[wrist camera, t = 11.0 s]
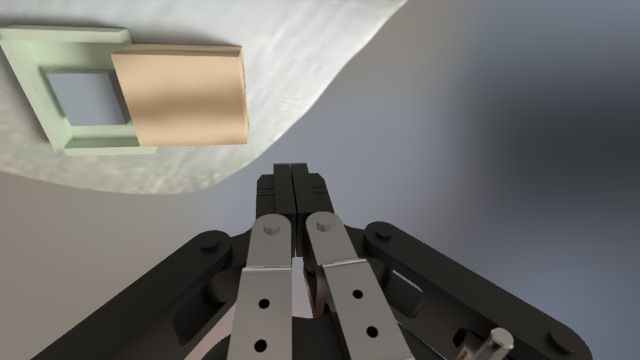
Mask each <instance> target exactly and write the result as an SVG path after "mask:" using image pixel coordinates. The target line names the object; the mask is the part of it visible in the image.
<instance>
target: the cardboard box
mask: <svg viewBox="0 0 640 360" xmlns="http://www.w3.org/2000/svg"><path fill="white" fill-rule="evenodd" d="M110 55H111V58H112V61H113V64H114V67H115V70H116V73H117V77H118V80H119V83H120V86H121V89H122V92H123V95H124V98H125V101H126V104H127V107H128V110H129V113H130V116H131V120H132V123H133V126H134V129H135V132H136V135H137V138H138V141H139V144H140V147H152V146H192V145H231V144H247V139H248V129H249V120H248V109H247V97H246V86H245V75H244V64H243V52H242V46H209V45H172V44H136V43H133V44H131V45H129V46H126V47H124V48H122V49H120V50H118V51H116V52H114V53H112V54H110Z"/></svg>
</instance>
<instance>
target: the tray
mask: <svg viewBox="0 0 640 360" xmlns="http://www.w3.org/2000/svg"><path fill="white" fill-rule="evenodd" d="M131 44H133V42H132V38H131V35H130V31H129V29H126V28H98V27H70V26H41V25H8V26H2V27H0V45H1V47H2V49H3V51H4V53H5V55H6V57H7V59H8V61H9V63H10V65H11V67H12V69H13V71H14V73H15V75H16V77H17V79H18V80H19V82H20V84H21V86H22V88H23V90H24V92H25V94H26V96H27V98H28V100H29V102H30V104H31V106H32V108H33V110H34V112H35V114H36V116H37V117H38V119H39V121H40V123H41V125H42V127H43V129H44V131H45V133H46V135H47V137H48V139H49V141H50V143H51V145H52V147H53V149H54V151H55V152H56V154H57V156H79V155H113V154H148V153H155V151H156V149H157V148H158V146H152V147H140V144H139V141H138V138H137V135H136V132H135V129H134V126H133V123H132V120H130V121H129V122H128V123H127V124H126V125H98V126H71V125H70V123H69V121H68V119H67V117H66V115H65V112H64V110H63V108H62V106H61V104H60V102H59V100H58V98H57V96H56V94H55V91H54V89H53V87H52V85H51V83H50V81H49V79H48V77H47V75H46V74H47V73H50V72H52V71H54V70H57V69H115V67H114V64H113V61H112V58H111V55H110V54H112V53H114V52H116V51H118V50H120V49H122V48H124V47H126V46H129V45H131Z"/></svg>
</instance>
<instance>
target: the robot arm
mask: <svg viewBox="0 0 640 360" xmlns="http://www.w3.org/2000/svg"><path fill="white" fill-rule="evenodd" d="M273 169H274V170H273V171H274V174H273V175H272V174H269V175H261V177H260V178H259V180H258V181H257V197H256V221H255V222H254V223H253V226H252V228H251V229H249V230H248V231H246V232H245V233H243V234H240V235H237V236H234V237H230V236H229V235H228V234H227V233H225V232H222V231H218V230H211V231H206V232H203V233H200V234H198V235H197V236H195V237H194V238H192V239H191V240H190V241H188V242H187V243H186V244H184V245H183V246H182V247H180V248H179V249H178V250H176V251H175V252H174V253H172V254H171V255H170V256H168V257H167V258H166V259H164V260H163V261H162V262H160V263H159V264H158V265H156V266H155V267H154V268H152V269H151V270H150V271H148V272H147V273H146V274H144V275H143V276H142V277H140V278H139V279H138V280H136V281H135V282H134V283H132V284H131V285H130V286H128V287H127V288H126V289H124V290H123V291H122V292H120V293H119V294H118V295H116V296H115V297H114V298H112V299H111V300H110V301H108V302H107V303H106V304H104V305H103V306H102V307H100V308H99V309H97V310H96V311H95V312H94V313H92V314H91V315H90V316H88V317H87V318H86V319H84V320H83V321H82V322H80V323H79V324H78V325H76V326H75V327H74V328H72V329H71V330H69V331H68V332H67V333H65V334H64V335H63V336H62V337H60V338H59V339H57V340H56V341H55V342H54V343H52V344H51V345H49V346H48V347H47V348H45V349H44V350H43V351H41V352H40V353H39V354H37V355H36V356H35V357H34V358H32V359H31V360H184V359H185V358H186V357H187V356H188V354H189V353H190V352H191V351H192V350H193V349H194V348H195V347H196V346H197V344H198V343H199V342H200V341H201V340H202V339H203V338H204V337H205V335H206V334H207V333H208V332H209V331H210V330H211V329H212V328H213V327H214V326H215V325H216V324H217V322H218V321H219V320H220V319H221V318H222V317H223V316H224V315H225V313H226V312H227V311H228V310H229V309H230V308H231V307H232V306H233V305H234V303H235V302H236V300H237V303H236V308H235V314H234V320H233V326H232V333H231V334H230V335H228V336H227V337H225V338H224V339H222V340H221V341H220V342H218V343H217V344H216V345H215V346H214V347H213V348H212V349H211V350H210V351H209V352H207V354H206V355H205V356H204V357H203V358H202V360H445V359H444V358H442V357H441V356H440V355H438V353H439V354H441V355H442V356H443V357H445V358H446V359H447V360H593V358H592V354H591V352H590V350H589V348H588V346H587V345H586V344H585V342H584V341H583V340H582V339H581V338H580V336H579V335H578V334H576V333H575V332H574V331H573V330H572V329H570V328H569V327H567V326H566V325H564V324H562V323H561V322H559V321H557V320H555V319H554V318H552V317H550V316H548V315H547V314H545V313H543V312H542V311H540V310H538V309H537V308H535V307H533V306H531V305H530V304H528V303H526V302H524V301H523V300H521V299H519V298H518V297H516V296H514V295H512V294H511V293H509V292H507V291H505V290H504V289H502V288H500V287H499V286H496V285H495V284H493V283H492V282H490V281H488V280H487V279H484V278H483V277H481V276H480V275H478V274H476V273H475V272H472V271H471V270H469V269H468V268H466V267H464V266H462V265H461V264H459V263H457V262H455V261H454V260H452V259H450V258H449V257H447V256H445V255H444V254H442V253H440V252H438V251H437V250H435V249H433V248H431V247H430V246H428V245H426V244H425V243H423V242H421V241H419V240H418V239H416V238H414V237H412V236H411V235H409V234H407V233H406V232H404V231H402V230H400V229H399V228H397V227H395V226H394V225H391V224H389V223H386V222H379V221H378V222H372V223H370V224H368V225H367V227H366V228H365V230H363V229H357V228H352V227H349V226H346V225H344V224H343V222H342V221H341V219H340V218H339V217H338V216H337V215H335V213H334V210H333V206H332V203H331V201H330V197H329V194H328V190H327V188H326V184H325V181H324V179H323V178H322V177H321V176H320V175H319V174H318V173H309V172H308V168H307V164H306V163H290V164H289V163H278V164H273ZM295 248H296V256H297V257H303V262H304V266H303V275H304V279H305V284H306V288H307V292H308V297H309V301H310V305H311V310H312V314H313V318H310V319H308V318H301V317H293V316H292V280H291V279H292V274H291V272H292V271H291V270H292V258H293V257H295ZM393 270H395V271H396V272H398V273H400V274H401V275H402V276H404V277H405V278H407V279H408V280H410V281H411V282H413V283H414V284H416V285H417V286H418V287H420V289H421V290H422V291H423V292H421V291H420V290H418V289H417V288H415V287H414V286H412V285H411V284H409V283H408V282H406V281H405V280H403V279H402V278H401V277H399V276H398V275H396V274H395V273H393ZM395 319H396V320H397V321H398V322H400V323H401V324H402V325H401V324H400V323H398V322H396V320H395ZM404 326H405V327H404ZM408 329H409V330H408ZM413 333H414V334H413ZM417 336H418V337H419V338H420V339H419V338H418V337H417ZM422 340H423V341H424V342H425V343H424V342H423V341H422ZM426 343H427V344H428V345H429V346H430V347H432V348H433V349H434V350H436V351H437V352H438V353H436V352H435V351H434V350H432V348H430V347H429V346H428V345H427V344H426Z"/></svg>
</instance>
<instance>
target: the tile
mask: <svg viewBox="0 0 640 360" xmlns="http://www.w3.org/2000/svg"><path fill="white" fill-rule="evenodd" d="M46 75H47V77H48V79H49V81H50V83H51V85H52V87H53V89H54V91H55V94H56V96H57V98H58V100H59V102H60V104H61V106H62V108H63V110H64V112H65V115H66V117H67V119H68V121H69V123H70V125H71V126H98V125H126V124H127V123H128V122H129V121H130V120H131V116H130V113H129V110H128V107H127V104H126V101H125V98H124V95H123V92H122V89H121V86H120V83H119V80H118V77H117V73H116V70H115V69H57V70H54V71H52V72H50V73H47V74H46Z"/></svg>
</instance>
